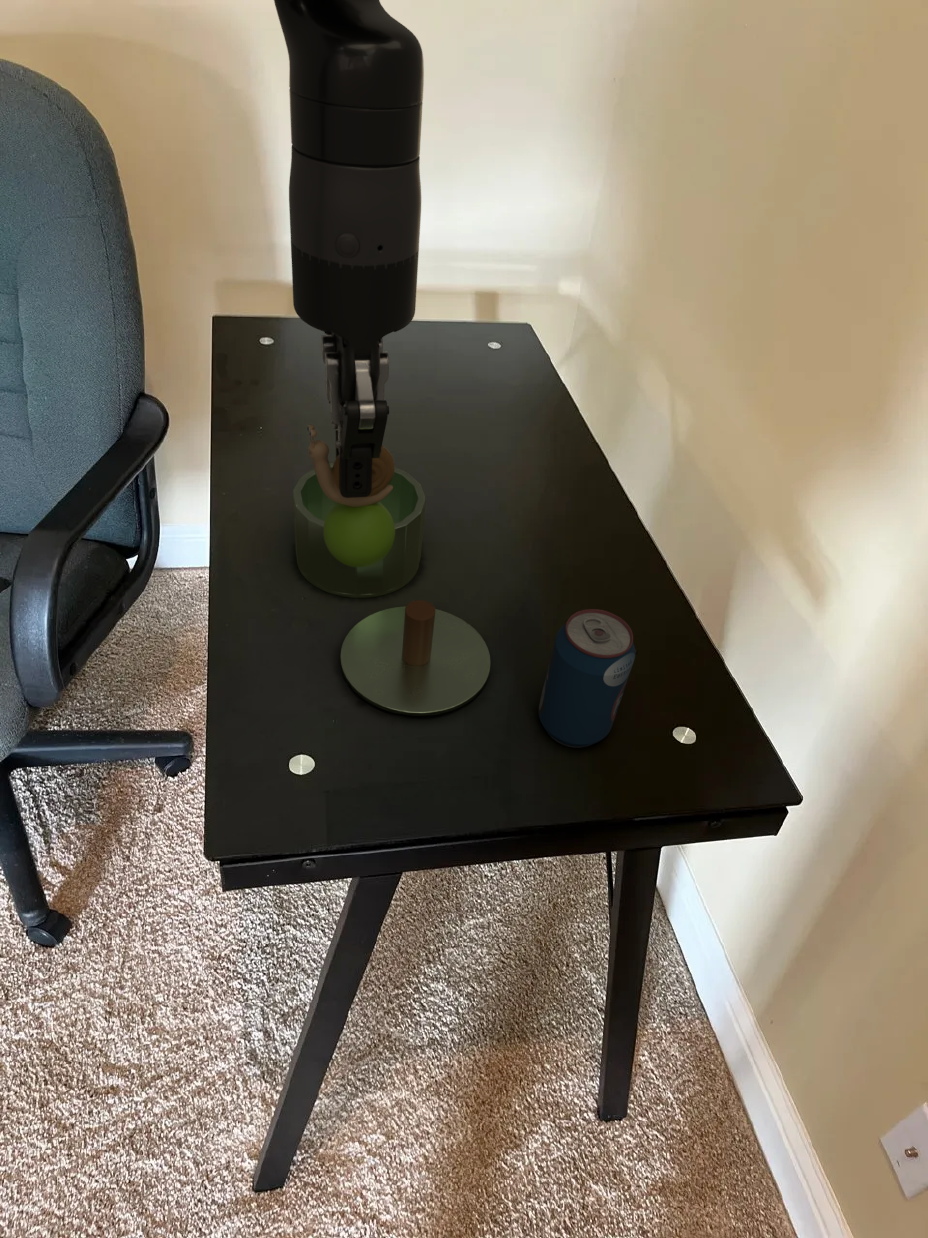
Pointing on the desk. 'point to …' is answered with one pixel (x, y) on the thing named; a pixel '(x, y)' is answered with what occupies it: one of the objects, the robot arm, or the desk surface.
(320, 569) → the pot
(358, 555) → the snail figurine
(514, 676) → the desk surface
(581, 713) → the soda can
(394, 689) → the pot lid
